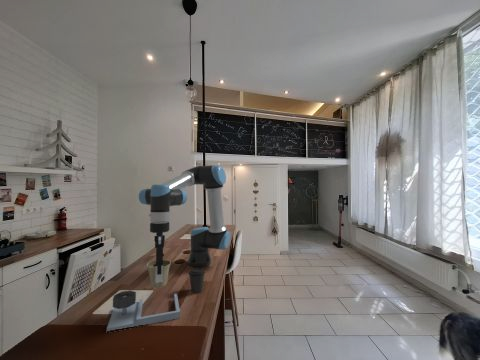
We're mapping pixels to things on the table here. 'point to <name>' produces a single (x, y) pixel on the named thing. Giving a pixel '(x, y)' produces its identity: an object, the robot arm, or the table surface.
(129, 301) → the faceted octagonal hub
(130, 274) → the table surface
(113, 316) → the tray
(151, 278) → the flower pot
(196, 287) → the coffee cup
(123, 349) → the table surface
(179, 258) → the table surface
